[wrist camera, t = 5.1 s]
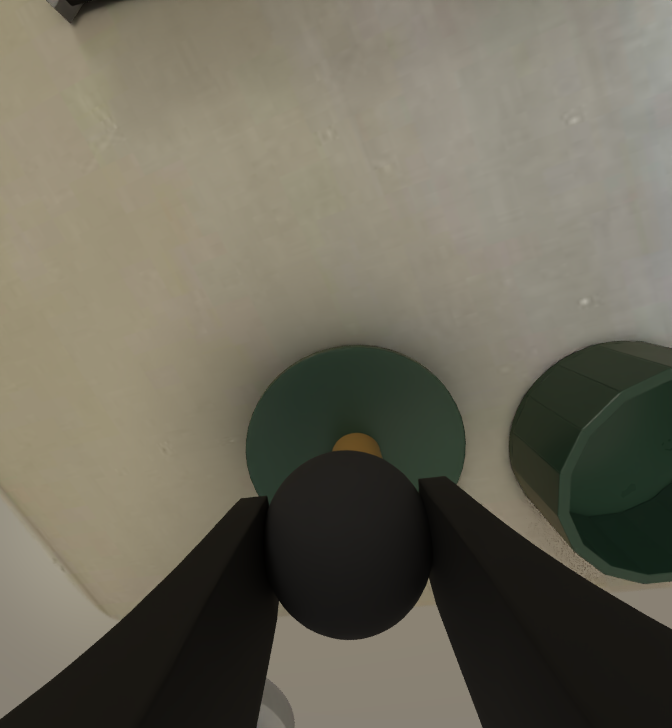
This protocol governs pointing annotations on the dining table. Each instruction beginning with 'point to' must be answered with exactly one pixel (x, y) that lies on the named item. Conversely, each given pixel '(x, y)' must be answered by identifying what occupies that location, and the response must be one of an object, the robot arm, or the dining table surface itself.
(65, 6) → the book
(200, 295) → the dining table surface
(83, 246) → the dining table surface
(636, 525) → the tin
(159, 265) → the dining table surface
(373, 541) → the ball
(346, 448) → the lid
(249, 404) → the dining table surface
